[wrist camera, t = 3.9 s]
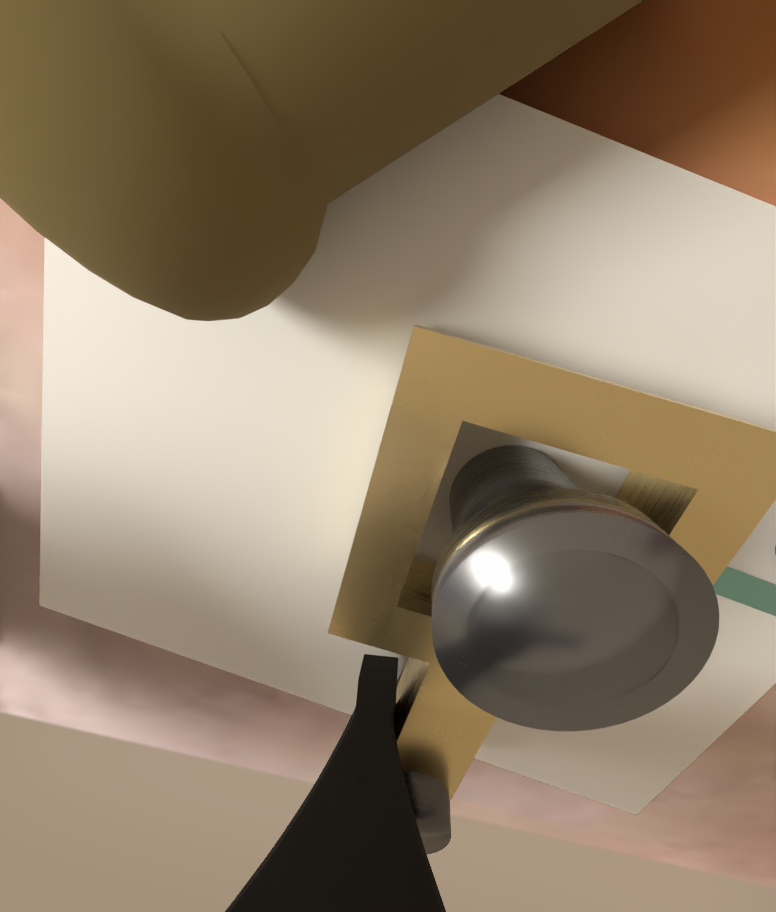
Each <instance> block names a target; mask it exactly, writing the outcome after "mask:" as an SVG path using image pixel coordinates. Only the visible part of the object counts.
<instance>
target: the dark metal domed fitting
mask: <svg viewBox="0 0 776 912" xmlns="http://www.w3.org/2000/svg"><path fill="white" fill-rule="evenodd" d="M449 503H450V513H451V522H452V531H453V536H452V538H451V539H450V540H449V541H448V543H447V544H446V546H445V547H444V549H443V551H442V553H441V554H440V556H439V559H438V561H437V564H436V566H435V570H434V574H433V578H432V590H431V603H432V638H433V646H434V650H435V654H436V658H437V660H438V662H439V664H440V667H441V669H442V671H443V672H444V674H445V675H446V677H447V678H448V680H449V681H450V682H451V684H452V685H453V686H454V687H455V688H456V689H457V691H458V692H459V693H461V694H462V695H463V696H464V697H465V698H466V699H467V700H468V701H470V702H471V703H473V704H474V705H476V706H477V707H479V708H480V709H482V710H484V711H485V712H487V713H489V714H491V715H493V716H495V717H497V718H500V719H502V720H505V721H507V722H510V723H514V724H517V725H520V726H524V727H529V728H534V729H540V730H549V731H586V730H594V729H600V728H606V727H610V726H614V725H618V724H622V723H625V722H628V721H631V720H634V719H637V718H639V717H641V716H643V715H646V714H648V713H650V712H652V711H654V710H656V709H657V708H659V707H661V706H663V705H664V704H666V703H668V702H669V701H670V700H672V699H673V698H674V697H676V696H677V695H678V694H680V693H681V692H682V691H683V690H684V689H685V688H686V687H687V686H688V685H689V684H690V683H692V681H693V680H694V679H695V678H696V677H697V675H698V674H699V673H700V672H701V670H702V669H703V667H704V666H705V664H706V662H707V661H708V659H709V657H710V655H711V653H712V650H713V648H714V646H715V643H716V639H717V635H718V630H719V607H718V600H717V597H716V594H717V595H720V596H722V597H725V598H728V599H731V600H733V601H736V602H739V603H741V604H744V605H747V606H749V607H752V608H755V609H757V610H760V611H763V612H765V613H768V614H771V615H773V616H776V585H775V584H772V583H769V582H767V581H764V580H761V579H759V578H756V577H753V576H751V575H748V574H745V573H743V572H740V571H737V570H735V569H732V568H729V567H726V568H725V569H724V571H723V572H722V574H721V575H720V576H719V578H718V579H717V580H716V582H715V583H714V585H712V583H711V581H710V580H709V578H708V576H707V574H706V573H705V571H704V569H703V568H702V567H701V566H700V565H699V563H698V562H697V561H696V560H695V559H694V557H692V556H691V555H690V554H689V553H688V552H687V551H686V550H685V549H684V548H682V547H681V546H680V545H679V544H678V543H677V542H676V541H675V540H674V539H672V538H671V537H670V536H669V535H668V534H667V533H666V532H665V531H664V530H662V529H661V528H660V527H659V526H658V525H657V524H656V523H655V522H653V521H652V520H651V519H650V518H649V517H648V516H647V515H645V514H644V513H643V512H641V511H640V510H638V509H637V508H635V507H634V506H632V505H630V504H629V503H626V502H624V501H622V500H620V499H618V498H615V497H613V496H609V495H606V494H603V493H599V492H595V491H589V490H584V489H579V488H578V487H577V486H576V485H575V484H574V483H573V481H572V480H571V479H570V478H569V477H568V476H567V475H566V474H565V472H564V471H563V470H562V469H561V468H560V467H559V466H558V465H557V463H556V462H555V461H554V460H552V459H551V458H550V457H549V456H547V455H546V454H544V453H543V452H540V451H538V450H536V449H533V448H530V447H526V446H520V445H506V446H499V447H494V448H491V449H488V450H486V451H484V452H481V453H479V454H478V455H476V456H475V457H473V458H472V459H471V460H469V461H468V462H467V463H466V464H465V465H464V466H463V467H462V468H461V470H460V471H459V472H458V474H457V475H456V477H455V479H454V481H453V484H452V486H451V490H450V497H449ZM775 554H776V546H775ZM405 665H406V664H405ZM404 667H405V666H404ZM403 670H404V668H403ZM403 670H402V671H401V673H400V675H399V677H398V679H397V685H398V682H399V680H400V677H401V675H402V672H403Z"/></svg>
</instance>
